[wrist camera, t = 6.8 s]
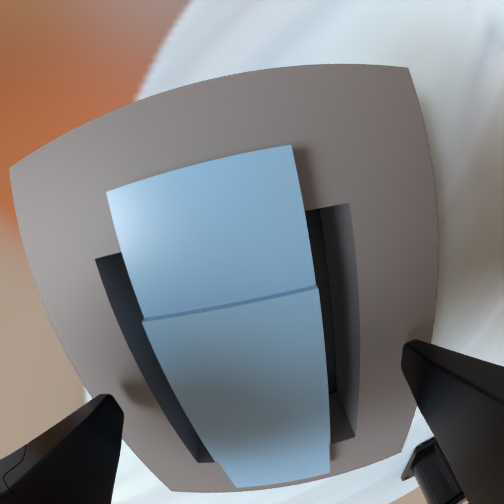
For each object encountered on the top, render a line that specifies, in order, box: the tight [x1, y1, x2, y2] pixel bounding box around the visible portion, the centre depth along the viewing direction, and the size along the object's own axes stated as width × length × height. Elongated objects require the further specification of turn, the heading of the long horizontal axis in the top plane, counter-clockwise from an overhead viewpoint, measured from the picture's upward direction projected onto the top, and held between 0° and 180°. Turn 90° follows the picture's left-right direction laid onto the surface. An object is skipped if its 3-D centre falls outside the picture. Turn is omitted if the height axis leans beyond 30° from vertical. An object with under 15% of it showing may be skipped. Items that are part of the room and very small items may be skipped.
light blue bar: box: [106, 145, 330, 488], centre depth 8 cm, size 4×12×4 cm, turn 12°
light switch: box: [9, 64, 438, 493], centre depth 9 cm, size 16×12×3 cm
